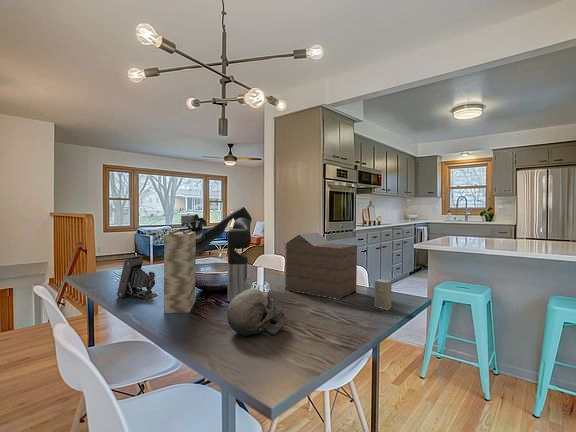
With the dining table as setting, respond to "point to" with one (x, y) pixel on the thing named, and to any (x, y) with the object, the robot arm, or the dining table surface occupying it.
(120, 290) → the camera
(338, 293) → the building model
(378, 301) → the skincare box
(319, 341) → the dining table surface
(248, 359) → the dining table surface
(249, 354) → the dining table surface
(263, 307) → the skull
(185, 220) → the bar
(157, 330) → the dining table surface
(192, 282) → the post
